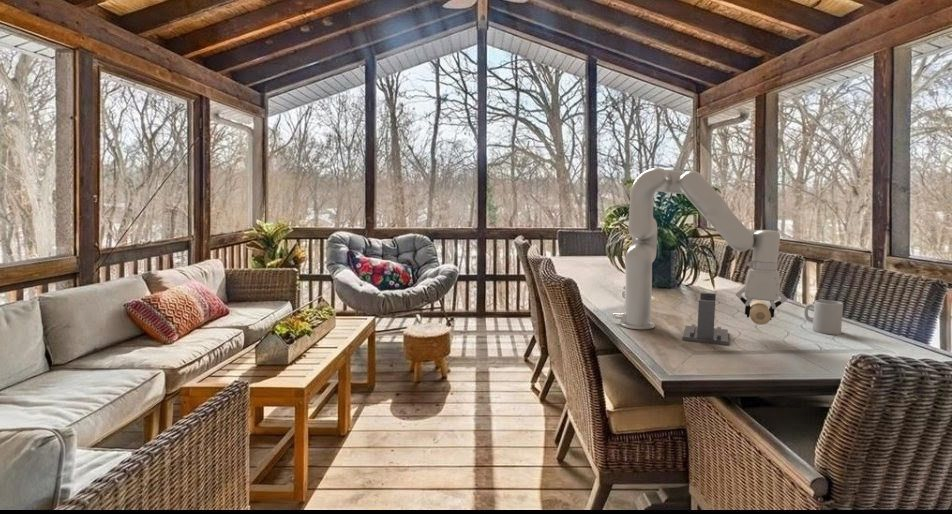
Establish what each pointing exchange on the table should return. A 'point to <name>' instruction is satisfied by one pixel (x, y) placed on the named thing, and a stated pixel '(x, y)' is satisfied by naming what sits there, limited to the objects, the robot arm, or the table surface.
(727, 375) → the table surface
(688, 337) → the roll holder
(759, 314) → the paper roll
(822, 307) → the mug
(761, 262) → the robot arm
